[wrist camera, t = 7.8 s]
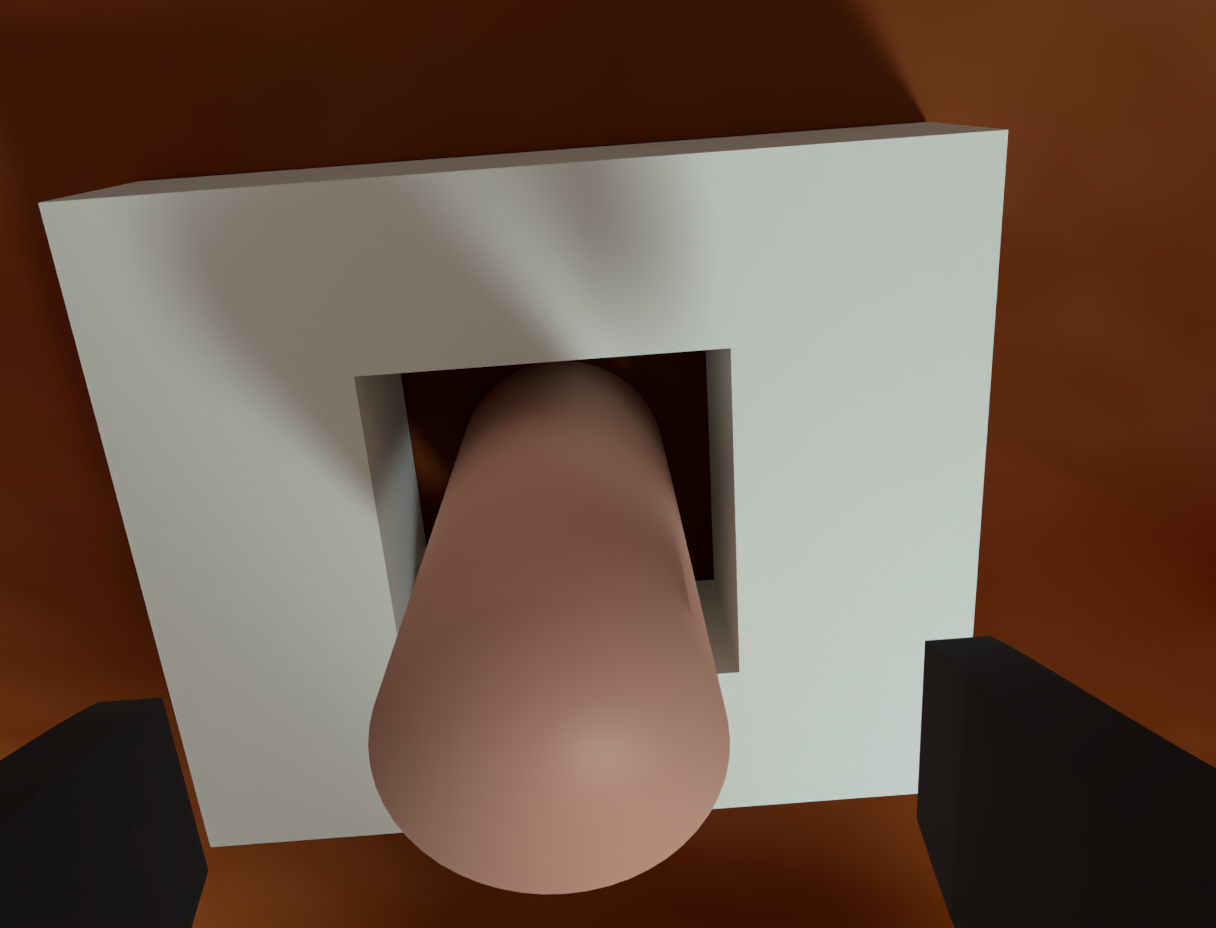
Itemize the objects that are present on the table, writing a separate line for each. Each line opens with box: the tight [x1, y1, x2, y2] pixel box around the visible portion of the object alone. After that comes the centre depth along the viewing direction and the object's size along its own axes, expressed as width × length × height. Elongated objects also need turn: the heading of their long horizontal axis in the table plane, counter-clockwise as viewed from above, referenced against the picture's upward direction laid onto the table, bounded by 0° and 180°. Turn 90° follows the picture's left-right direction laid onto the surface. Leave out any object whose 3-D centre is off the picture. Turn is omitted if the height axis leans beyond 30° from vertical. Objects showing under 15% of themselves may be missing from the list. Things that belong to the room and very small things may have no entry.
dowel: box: [368, 361, 730, 894], centre depth 13 cm, size 3×3×8 cm
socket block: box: [38, 122, 1008, 847], centre depth 15 cm, size 12×10×3 cm
